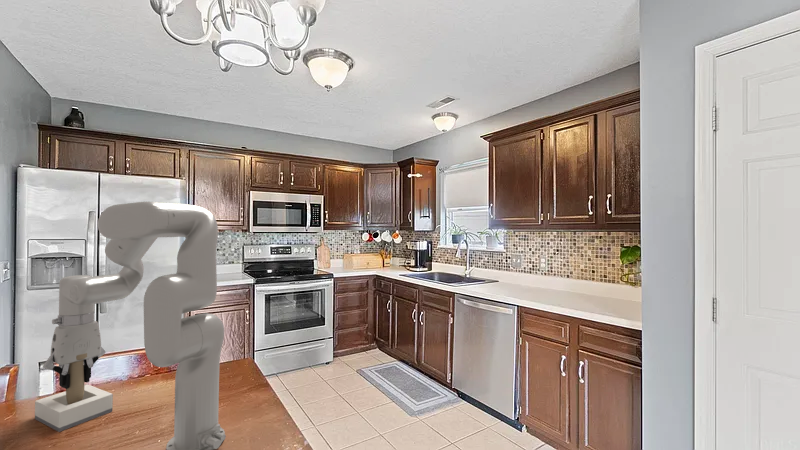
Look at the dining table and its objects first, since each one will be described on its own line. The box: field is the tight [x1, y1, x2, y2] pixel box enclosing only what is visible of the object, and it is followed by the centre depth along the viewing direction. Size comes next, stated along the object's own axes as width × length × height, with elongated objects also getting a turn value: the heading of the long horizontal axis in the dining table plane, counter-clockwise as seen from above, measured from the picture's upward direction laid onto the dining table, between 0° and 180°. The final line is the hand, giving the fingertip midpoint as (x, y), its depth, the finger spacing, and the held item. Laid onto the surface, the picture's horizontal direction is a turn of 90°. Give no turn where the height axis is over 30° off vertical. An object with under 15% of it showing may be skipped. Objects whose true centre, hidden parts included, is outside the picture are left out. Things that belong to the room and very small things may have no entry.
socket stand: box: [34, 383, 114, 433], centre depth 103 cm, size 14×12×5 cm
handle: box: [65, 353, 87, 405], centre depth 103 cm, size 5×6×15 cm
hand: (75, 383), depth 103 cm, fingers closed on handle, 3 cm apart
